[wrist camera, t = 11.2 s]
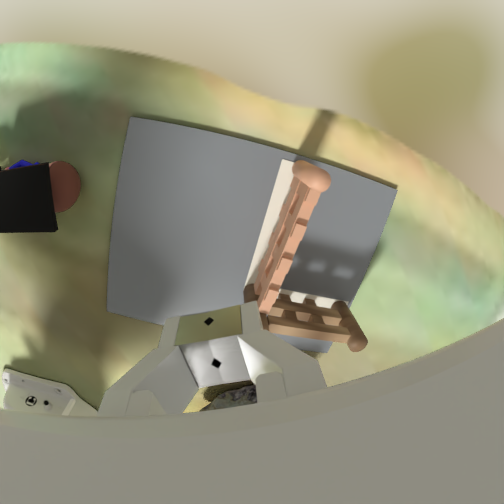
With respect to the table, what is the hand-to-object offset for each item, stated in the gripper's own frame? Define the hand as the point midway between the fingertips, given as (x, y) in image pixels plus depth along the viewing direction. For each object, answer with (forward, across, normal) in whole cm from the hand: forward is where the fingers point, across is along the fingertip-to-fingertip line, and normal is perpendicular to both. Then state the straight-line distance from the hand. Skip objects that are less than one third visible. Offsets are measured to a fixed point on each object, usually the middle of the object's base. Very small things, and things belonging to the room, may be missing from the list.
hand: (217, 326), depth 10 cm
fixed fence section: (+21, -5, +13) cm, 25 cm away
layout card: (+21, 0, +6) cm, 22 cm away
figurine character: (+21, +21, -7) cm, 31 cm away
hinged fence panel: (+20, -5, +4) cm, 21 cm away
